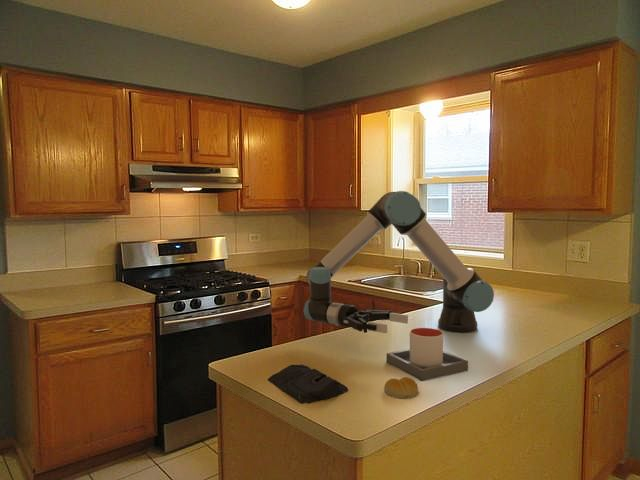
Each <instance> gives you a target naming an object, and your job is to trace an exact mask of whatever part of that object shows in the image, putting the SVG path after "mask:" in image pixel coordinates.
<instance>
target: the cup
mask: <svg viewBox="0 0 640 480" xmlns="http://www.w3.org/2000/svg"><path fill="white" fill-rule="evenodd" d="M409 349H410V362H411V363H412V364H414V365H416V366H418V367H421V368H429V367H434V366H438V365H441V364H442V362H443V351H444V332H443V331H442V330H439V329H436V328H430V327H417V328H413V329H411V330H410V331H409Z"/></svg>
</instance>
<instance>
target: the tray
mask: <svg viewBox="0 0 640 480" xmlns="http://www.w3.org/2000/svg"><path fill="white" fill-rule="evenodd" d="M385 356H386V361H385V362H386V363H387V364H389V365H390V366H392V367H395V368H397V369H398V370H400V371H402V372H404V373H406V374H407V375H409V376H411V377H413V378H415V379H417V380H419V381H421V382H423V381H429V380H433V379H437V378H441V377H447V376H451V375H454V374H455V375H456V374H460V373H464V372H468V370H469V361H468V360H466V359H464V358H461V357H459V356H457V355H454V354H452V353H449V352H447V351H445V350H443V362H442V364H441V365H438V366H434V367H429V368H421V367H418V366H416V365H414V364H412V363H411V362H410V348H409V349H408V348H407V349H401V350H397V351H391V352H386V355H385Z"/></svg>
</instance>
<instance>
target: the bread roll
mask: <svg viewBox="0 0 640 480" xmlns="http://www.w3.org/2000/svg"><path fill="white" fill-rule="evenodd" d="M383 390H384V393H385V394H386V395H388V396H389V397H391V398H395V399H407V398H408V399H412V398H415V397H418V395H419V394H420V392H419V386H418V383H417V382H416V381H415V380H414V379H413V378H412V377H411V378H410V377H406V376H404V377H401V378H400V379H398V378H390V379H388V380H387V381H386V382H385V383H384V387H383Z"/></svg>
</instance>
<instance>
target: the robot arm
mask: <svg viewBox="0 0 640 480" xmlns="http://www.w3.org/2000/svg"><path fill="white" fill-rule="evenodd" d="M391 225H392V226H393V228H394V229H395V230H397V232H398V234H400V235H401V236H407V237H408V238H409V239H410V240H411V241H412V243H413V244H414V245H415V246H416V248H418V250H419V251H420V252H421V253H422V254H423V256H425V258H426V259H427V260H428V261H429V262H430V264H431V265H432V266H433V267H434V268H435V269H436V270H437V272H438V273H439V274H440V275H441V276H442V277H443V278H442V281H443V282H442V287H443V288H442V308H441V309H442V310H441V313H440V316H439V318H438V321H437V326H438V328H440V329H441V330H444V331H447V332H454V333H470V332H475V331H477V330H478V321H477V320H476V319H477V318H476V314H475V312H476V313H481V312H483V311H486V310H487V309H489V308H490V306H491V305H492V304H493V302H494V297H495V291H494V288H493V287H492V285H491V284H490V283H489V282H487V281H485V280H483V279H482V278H481V277H480V276H479V274H478V273H477V272H476V271H475V269H473V268H471V267H466V265H464V263H463V262H462V260H460V259H459V257H458V256H457V255H456V254H455V253H454V252H453V250H452V249H451V248H450V247H449V245H448V244H446V242H445V241H444V240H443V238H442V237H441V236H440V235H439V234H438V233H437V232H436V230H435V229H434V228H433V226H432V225H431V224H430V223H429V222H428V220H427V213H426V212H425V210H424V209H423V208H422V207H421V203H420V201H419V199H418V198H417V197H416V196H415V195H414V194H412V193H410V192H408V191H405V190H399V191H398V190H397V191H390V192H387V193H385V194H383V195H382V196H381V197H380V198H378V200H377V201H376V202H375V203H374V204H373V206H371V208H370V209H369V210H368V211H367V212H366V216H365V217H364V218H363V219H362V220H361V221H360V222H359V223H358V224H357V225H356V226H355V227H354V228H353V229H352V230H351V231H349V233H348V234H347V235H346V236H345V237H343V238H342V240H340V241H339V243H337V244H336V245H335V246H334V247H333V248H332V249H331V250H330V251H329V252H328V253H327V254H326V255H324V257H323V258H322V259H320V261H319V262H317V264H316V265H315V266H312V267H311V268H309V269H308V270H307V272H306V282H307V283H308V285H309V296H310V297H309V299H307V301H306V302H304V307H303V315H304V317H305V318H306V319H307V320H309V321H314V322H317V323H325V324H330V325H334V326H335V327H338V326H341V327H345V328H351V329H354V330H356V331H357V332H363V333H364V334H367V333H368V331H371V332H375V333H382V334H388V324H386V323H382V322H381V323H380V322H376V321H389V322H395V323H400V324H406V325H407V324H409V315H408V314H402V313H397V312H396V313H395V312H393V310H392V309H389V310H378V309H377V310H376V309H363V310H358V309H357V308H356V306H355V305H353V304H352V305H351V304H344V303H340V302H333V301H332V291H331V289H332V288H331V286H332V284H331V283H332V281H331V280H332V278H333V277H334V276H335V275H336V274H337V272H339V271H340V270H341V269H342V268H343V267H344V266H345V265H346V264H347V263H348V262H349V261H350V260H351V259H352V258H354V256H355V255H356V254H358V252H359V251H360V250H362V249H363V248H364V246H366V244H368V243H369V242H370V241H371V240H372V239H373V238H374V237H376V235H377V234H379V232H381V231H385V230H386V229H387V228H388V227H390V226H391Z"/></svg>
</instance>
